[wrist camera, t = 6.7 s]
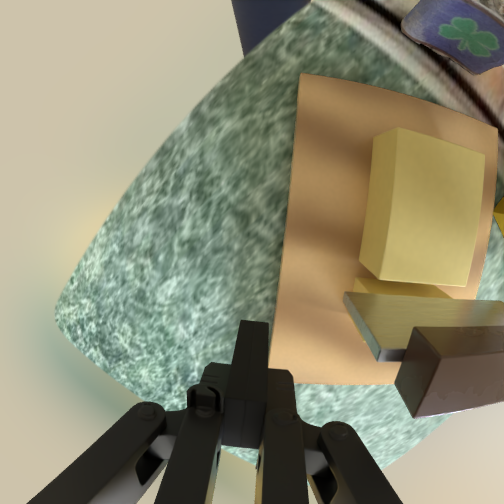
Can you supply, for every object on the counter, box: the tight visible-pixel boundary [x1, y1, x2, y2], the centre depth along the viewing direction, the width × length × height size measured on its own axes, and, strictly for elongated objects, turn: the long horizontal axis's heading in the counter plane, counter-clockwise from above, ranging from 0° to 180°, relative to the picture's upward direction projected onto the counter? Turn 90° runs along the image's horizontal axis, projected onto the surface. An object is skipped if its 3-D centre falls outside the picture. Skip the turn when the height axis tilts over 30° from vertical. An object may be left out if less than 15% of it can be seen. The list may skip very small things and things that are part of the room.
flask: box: [401, 0, 504, 75], centre depth 13 cm, size 9×3×11 cm, turn 75°
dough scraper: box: [343, 291, 504, 419], centre depth 11 cm, size 2×12×8 cm, turn 85°
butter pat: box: [348, 277, 453, 342], centre depth 19 cm, size 3×7×4 cm, turn 84°
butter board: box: [268, 73, 498, 385], centre depth 21 cm, size 24×18×2 cm
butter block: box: [359, 127, 485, 287], centre depth 18 cm, size 9×7×4 cm
